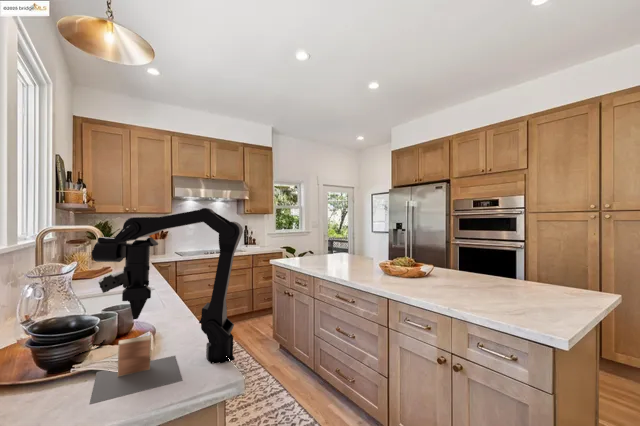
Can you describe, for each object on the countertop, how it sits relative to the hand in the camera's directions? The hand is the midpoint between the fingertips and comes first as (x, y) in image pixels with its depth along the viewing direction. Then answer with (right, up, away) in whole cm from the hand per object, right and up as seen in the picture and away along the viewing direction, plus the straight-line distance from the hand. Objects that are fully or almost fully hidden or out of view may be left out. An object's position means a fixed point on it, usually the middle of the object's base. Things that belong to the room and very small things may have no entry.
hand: (135, 318), depth 81 cm
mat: (+6, -12, -9) cm, 16 cm away
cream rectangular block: (+4, -11, -6) cm, 13 cm away
